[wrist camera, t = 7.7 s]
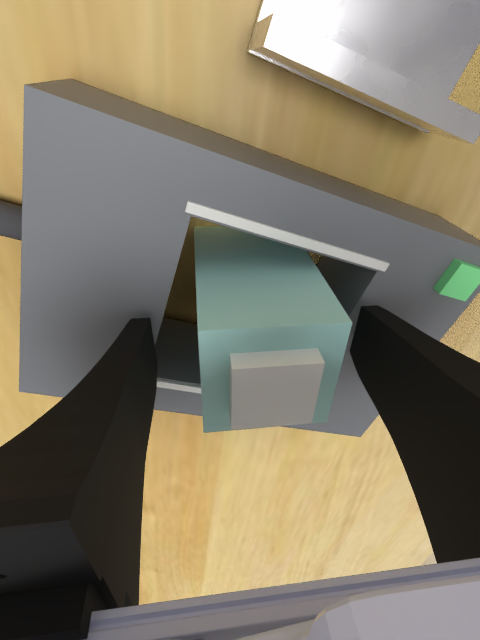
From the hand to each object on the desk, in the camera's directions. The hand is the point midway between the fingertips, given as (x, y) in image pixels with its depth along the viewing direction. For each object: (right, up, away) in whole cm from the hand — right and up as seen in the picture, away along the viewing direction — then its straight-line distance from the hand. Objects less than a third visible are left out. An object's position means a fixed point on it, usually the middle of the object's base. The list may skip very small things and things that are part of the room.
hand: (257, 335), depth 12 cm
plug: (-1, +3, +4) cm, 5 cm away
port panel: (-1, +3, +4) cm, 4 cm away
